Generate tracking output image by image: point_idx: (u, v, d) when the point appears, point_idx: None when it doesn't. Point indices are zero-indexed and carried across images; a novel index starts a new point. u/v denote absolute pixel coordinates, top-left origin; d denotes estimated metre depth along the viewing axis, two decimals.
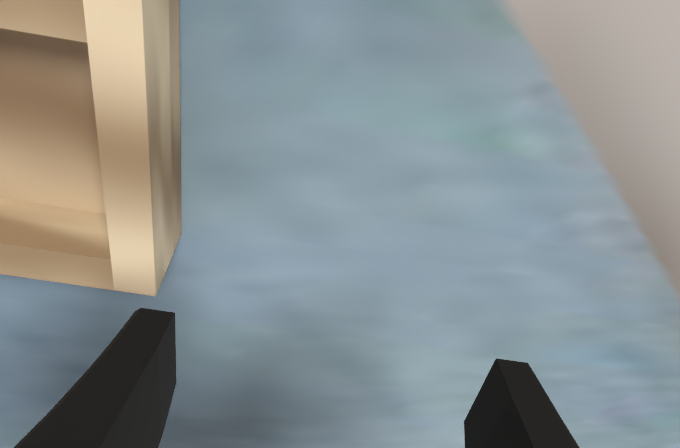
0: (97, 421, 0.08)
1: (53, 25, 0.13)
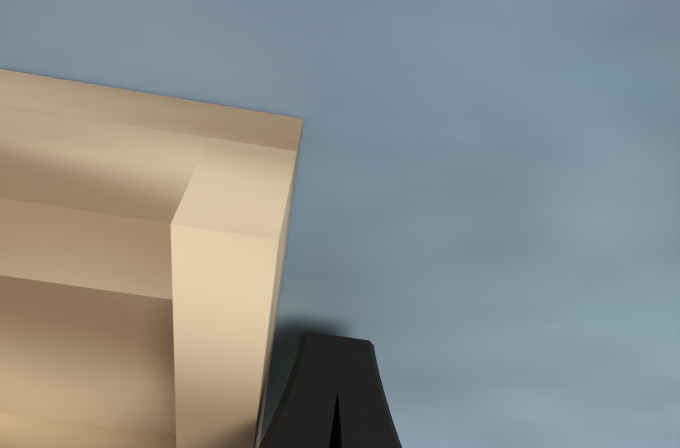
0: None
1: (115, 277, 0.07)
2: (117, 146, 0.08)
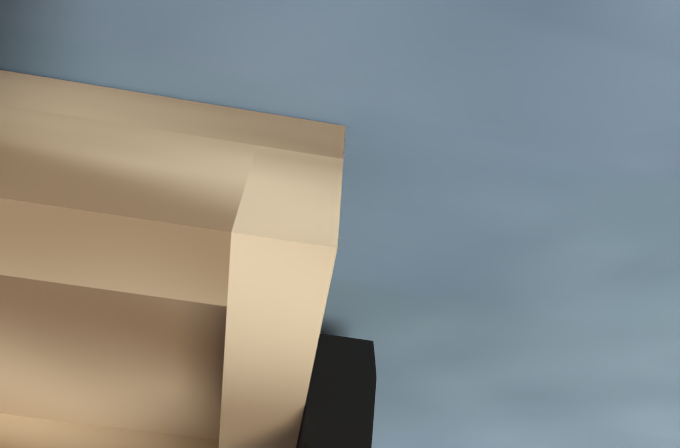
0: None
1: (172, 285, 0.07)
2: (170, 155, 0.08)
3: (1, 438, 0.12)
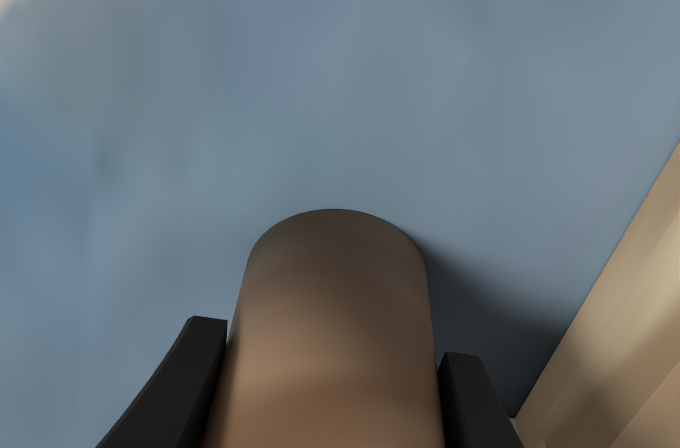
0: (166, 430, 0.08)
1: None
2: (659, 282, 0.10)
3: None
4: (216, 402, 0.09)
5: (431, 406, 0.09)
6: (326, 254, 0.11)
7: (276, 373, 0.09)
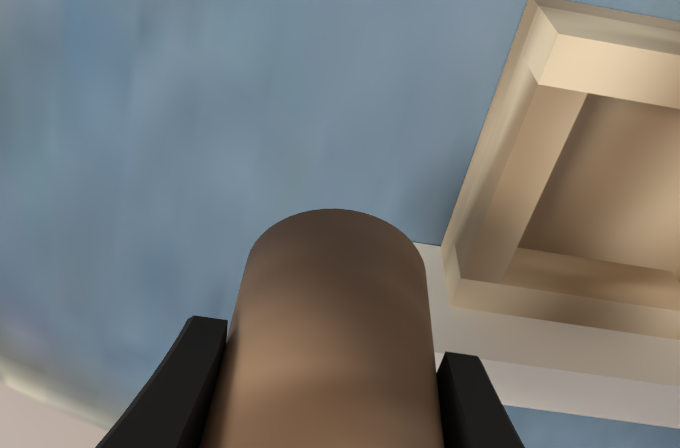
0: (166, 430, 0.08)
1: (565, 116, 0.15)
2: (512, 99, 0.16)
3: None
4: (215, 401, 0.09)
5: (430, 405, 0.09)
6: (326, 253, 0.11)
7: (274, 372, 0.09)
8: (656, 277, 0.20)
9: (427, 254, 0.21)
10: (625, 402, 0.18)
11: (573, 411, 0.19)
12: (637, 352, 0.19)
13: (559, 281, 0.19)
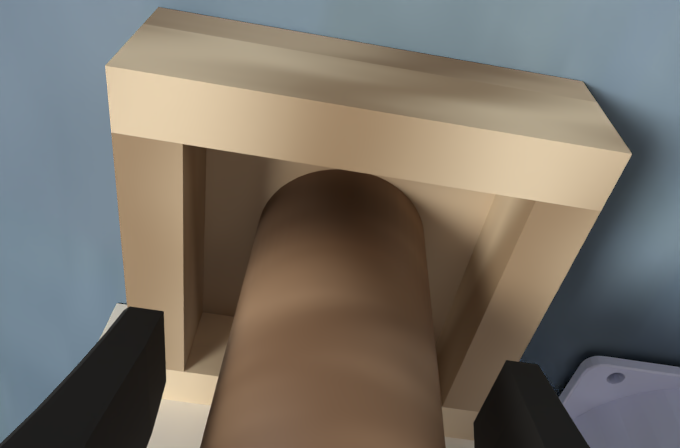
0: (82, 419, 0.08)
1: (167, 174, 0.11)
2: None
3: (454, 318, 0.15)
4: (234, 331, 0.10)
5: (425, 335, 0.10)
6: (333, 206, 0.12)
7: (288, 301, 0.10)
8: None
9: None
10: None
11: None
12: None
13: None
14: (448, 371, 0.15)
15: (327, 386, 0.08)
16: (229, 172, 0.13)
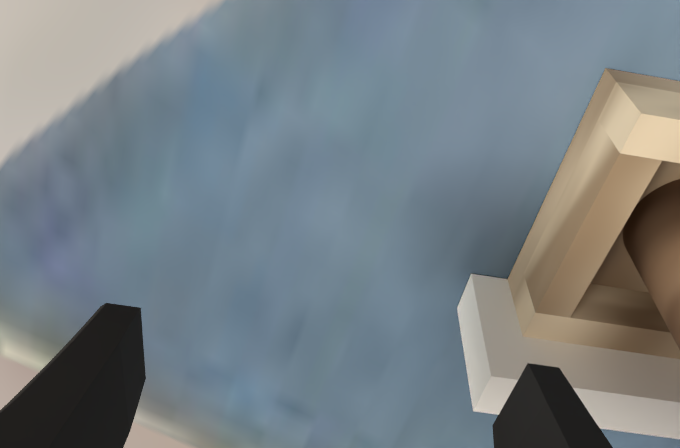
0: (52, 415, 0.08)
1: (641, 179, 0.17)
2: (588, 159, 0.18)
3: None
4: None
5: None
6: None
7: None
8: None
9: (496, 287, 0.23)
10: None
11: (634, 430, 0.21)
12: None
13: (621, 314, 0.21)
14: None
15: None
16: None
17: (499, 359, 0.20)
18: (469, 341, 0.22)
